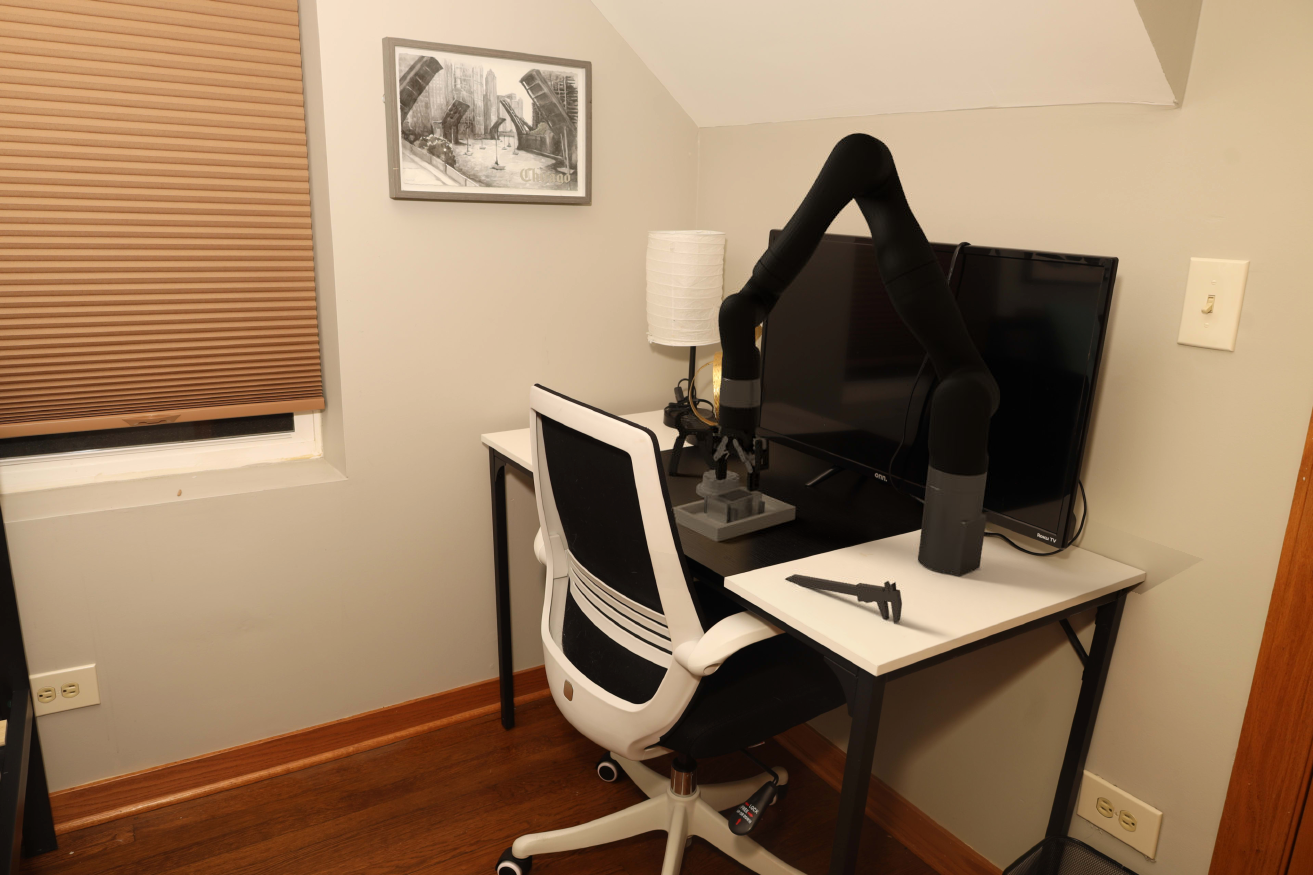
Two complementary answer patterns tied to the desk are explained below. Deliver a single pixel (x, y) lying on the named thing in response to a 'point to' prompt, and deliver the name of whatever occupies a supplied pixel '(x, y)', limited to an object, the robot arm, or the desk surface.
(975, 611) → the desk surface
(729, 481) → the mechanical component
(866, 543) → the desk surface
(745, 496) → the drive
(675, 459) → the hand grip strengthener
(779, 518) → the pin tray
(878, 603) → the caliper
